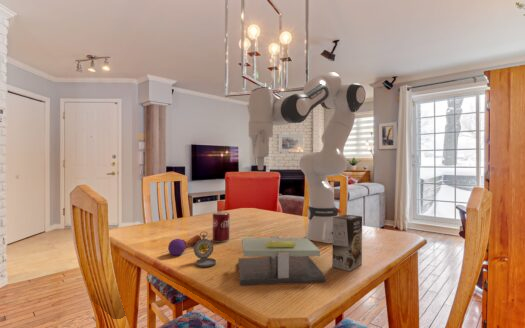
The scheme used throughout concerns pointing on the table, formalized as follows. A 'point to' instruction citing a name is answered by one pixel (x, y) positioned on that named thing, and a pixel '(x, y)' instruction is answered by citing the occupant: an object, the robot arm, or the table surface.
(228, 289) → the table surface
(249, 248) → the tilting platform
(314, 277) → the levelling stand
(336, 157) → the robot arm
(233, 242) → the table surface
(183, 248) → the kendama
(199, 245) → the pocket watch
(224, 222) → the soda can
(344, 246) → the coffee box
